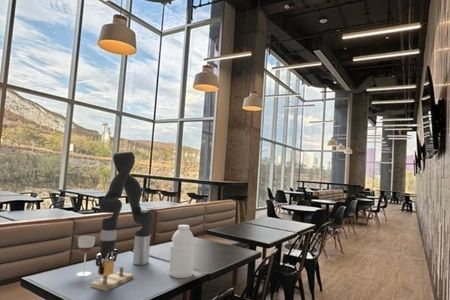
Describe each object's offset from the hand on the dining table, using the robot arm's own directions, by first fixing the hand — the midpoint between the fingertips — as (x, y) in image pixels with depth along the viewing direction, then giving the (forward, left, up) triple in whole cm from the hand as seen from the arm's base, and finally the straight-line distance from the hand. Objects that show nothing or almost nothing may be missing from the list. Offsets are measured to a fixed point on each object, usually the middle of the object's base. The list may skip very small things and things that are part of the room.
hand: (105, 272), depth 155 cm
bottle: (-35, +24, -7) cm, 43 cm away
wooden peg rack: (-6, 0, -7) cm, 9 cm away
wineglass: (-8, -22, -7) cm, 24 cm away
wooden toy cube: (0, 0, -1) cm, 1 cm away
